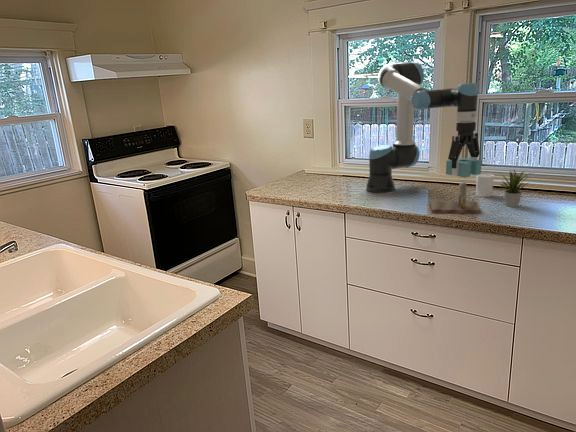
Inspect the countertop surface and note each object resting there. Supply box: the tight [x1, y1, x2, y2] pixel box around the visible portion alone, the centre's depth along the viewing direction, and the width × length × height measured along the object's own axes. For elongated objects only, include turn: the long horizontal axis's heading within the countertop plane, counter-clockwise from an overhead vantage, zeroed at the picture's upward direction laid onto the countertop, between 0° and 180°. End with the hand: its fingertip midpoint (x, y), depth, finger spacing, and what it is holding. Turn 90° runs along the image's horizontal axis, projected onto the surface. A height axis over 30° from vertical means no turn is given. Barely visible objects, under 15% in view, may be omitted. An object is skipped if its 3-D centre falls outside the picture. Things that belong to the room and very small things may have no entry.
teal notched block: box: [445, 157, 483, 178], centre depth 188 cm, size 10×10×6 cm
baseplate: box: [429, 182, 482, 214], centre depth 192 cm, size 20×13×12 cm, turn 76°
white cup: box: [475, 173, 495, 198], centre depth 211 cm, size 8×8×10 cm
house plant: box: [498, 169, 534, 208], centre depth 191 cm, size 14×14×16 cm
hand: (463, 173), depth 189 cm, fingers closed on teal notched block, 10 cm apart
